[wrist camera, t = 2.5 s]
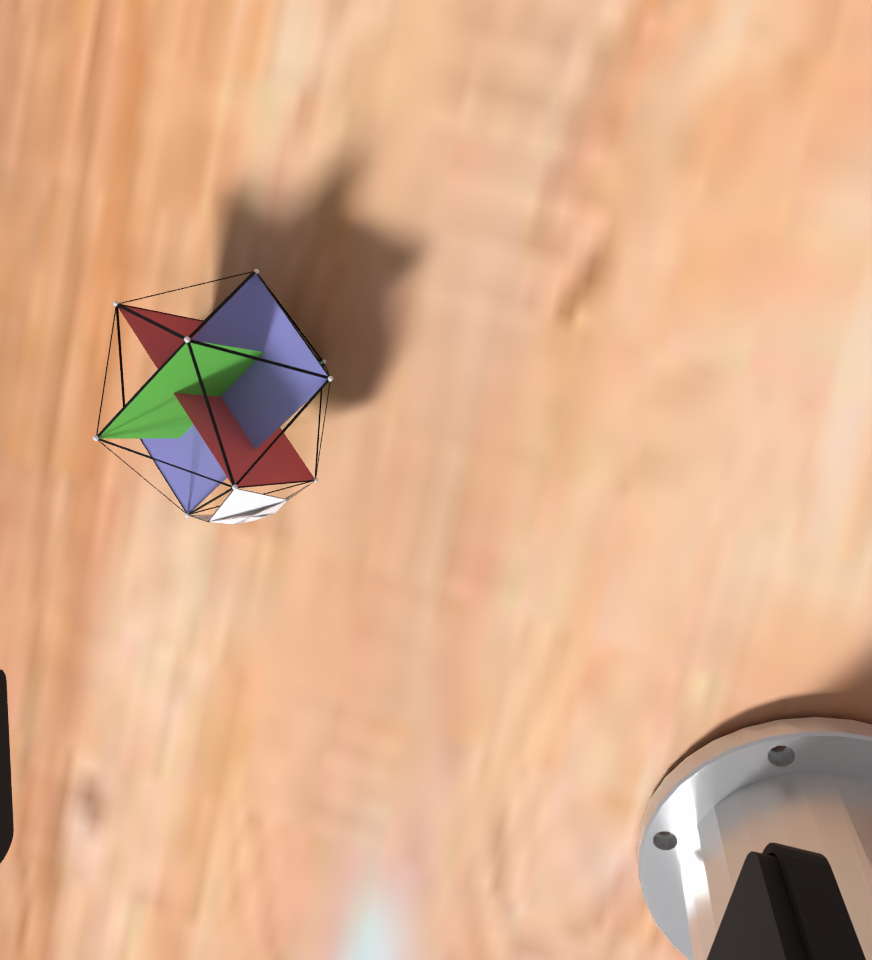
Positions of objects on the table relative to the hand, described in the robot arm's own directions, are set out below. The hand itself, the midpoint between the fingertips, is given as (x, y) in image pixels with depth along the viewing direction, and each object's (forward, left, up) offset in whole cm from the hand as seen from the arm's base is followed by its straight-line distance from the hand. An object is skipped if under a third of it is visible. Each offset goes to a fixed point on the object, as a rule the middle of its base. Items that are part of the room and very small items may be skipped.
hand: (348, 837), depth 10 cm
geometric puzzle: (+8, 0, -19) cm, 20 cm away
